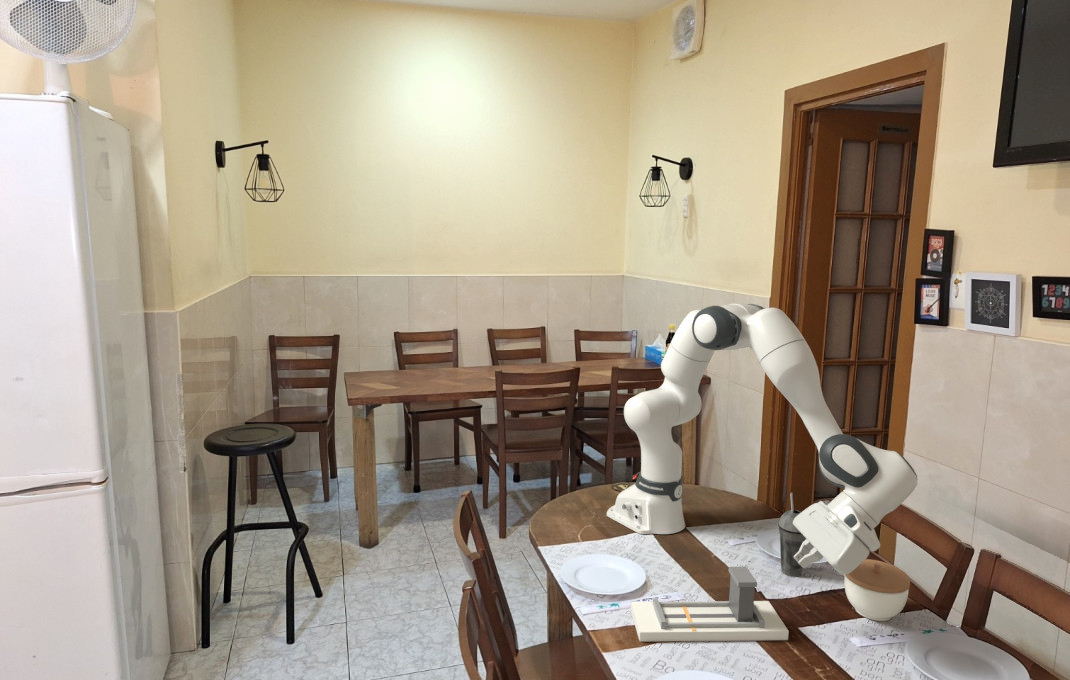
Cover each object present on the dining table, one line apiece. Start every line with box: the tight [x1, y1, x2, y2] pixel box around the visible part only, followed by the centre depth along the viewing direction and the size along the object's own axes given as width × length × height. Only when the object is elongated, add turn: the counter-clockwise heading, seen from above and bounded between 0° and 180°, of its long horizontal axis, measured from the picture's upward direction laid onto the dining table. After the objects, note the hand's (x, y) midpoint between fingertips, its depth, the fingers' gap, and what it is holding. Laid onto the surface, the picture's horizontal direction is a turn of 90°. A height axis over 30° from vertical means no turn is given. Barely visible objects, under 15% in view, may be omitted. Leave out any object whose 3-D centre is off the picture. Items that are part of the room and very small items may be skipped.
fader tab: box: [728, 566, 758, 622], centre depth 138 cm, size 4×6×9 cm, turn 1°
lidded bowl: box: [843, 558, 911, 622], centre depth 143 cm, size 13×13×11 cm
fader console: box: [630, 597, 789, 643], centre depth 139 cm, size 30×11×4 cm, turn 91°
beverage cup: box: [777, 492, 806, 578], centre depth 159 cm, size 7×7×20 cm
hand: (798, 562), depth 137 cm, fingers closed
